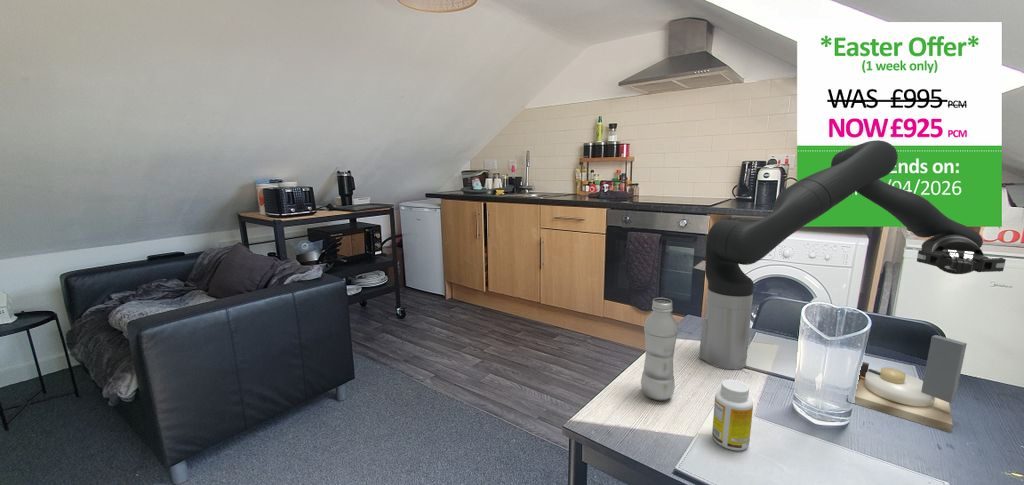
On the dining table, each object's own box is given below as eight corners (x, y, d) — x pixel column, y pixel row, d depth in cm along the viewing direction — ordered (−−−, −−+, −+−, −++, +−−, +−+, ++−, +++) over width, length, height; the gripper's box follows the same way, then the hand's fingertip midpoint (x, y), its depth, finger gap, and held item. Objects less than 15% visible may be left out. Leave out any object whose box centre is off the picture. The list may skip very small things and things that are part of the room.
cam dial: (853, 385, 82) (862, 324, 80) (881, 374, 86) (890, 316, 84) (936, 419, 71) (950, 349, 69) (963, 405, 75) (978, 339, 73)
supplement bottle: (754, 442, 69) (760, 386, 67) (740, 457, 65) (746, 398, 63) (720, 426, 73) (725, 373, 71) (705, 439, 69) (710, 384, 67)
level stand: (846, 401, 80) (850, 380, 79) (853, 374, 90) (856, 355, 89) (950, 432, 70) (955, 408, 70) (945, 399, 80) (950, 377, 80)
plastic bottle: (638, 401, 81) (643, 304, 77) (641, 384, 87) (646, 293, 83) (673, 408, 78) (680, 308, 75) (674, 390, 85) (680, 297, 81)
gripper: (917, 234, 95) (918, 243, 83) (1005, 241, 86) (1020, 253, 74) (911, 265, 96) (911, 279, 84) (997, 276, 87) (1011, 293, 75)
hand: (962, 267), depth 79 cm, fingers closed
